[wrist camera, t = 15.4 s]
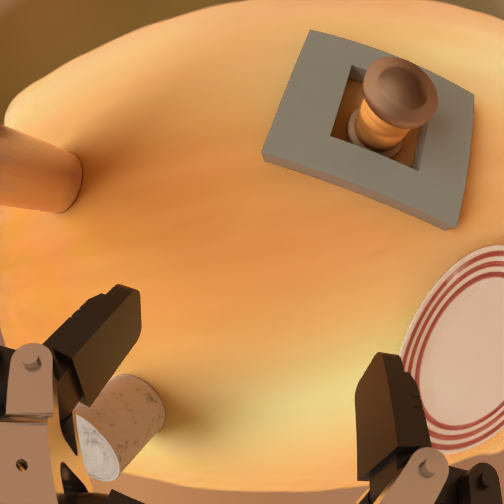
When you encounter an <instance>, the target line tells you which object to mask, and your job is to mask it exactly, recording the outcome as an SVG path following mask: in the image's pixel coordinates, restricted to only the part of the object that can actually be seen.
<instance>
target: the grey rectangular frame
mask: <svg viewBox="0 0 504 504" xmlns="http://www.w3.org/2000/svg"><path fill="white" fill-rule="evenodd" d="M384 57H396V56H394V55H391V54H388V53H386V52H383V51H380V50H378V49H375V48H372V47H369V46H366V45H363V44H360V43H357V42H354V41H351V40H347V39H344V38H341V37H337V36H334V35H330V34H326V33H322V32H318V31H314V30H310V31H309V33H308V36H307V38H306V41H305V43H304V45H303V48H302V50H301V53H300V55H299V58H298V60H297V63H296V65H295V67H294V70H293V72H292V75H291V77H290V80H289V82H288V85H287V87H286V90H285V92H284V95H283V98H282V100H281V103H280V105H279V108H278V110H277V113H276V115H275V118H274V121H273V123H272V126H271V128H270V131H269V133H268V136H267V139H266V141H265V144H264V147H263V149H262V152H261V153H262V155H263V158H264V160H265V161H266V162H270V163H273V164H276V165H279V166H282V167H286V168H289V169H292V170H295V171H298V172H301V173H304V174H307V175H310V176H312V177H315V178H318V179H321V180H324V181H327V182H330V183H332V184H335V185H338V186H340V187H343V188H346V189H348V190H351V191H354V192H356V193H359V194H362V195H364V196H367V197H369V198H372V199H374V200H377V201H379V202H382V203H384V204H386V205H389V206H391V207H394V208H396V209H398V210H401V211H403V212H405V213H408V214H410V215H412V216H415V217H417V218H419V219H421V220H423V221H426V222H428V223H430V224H432V225H434V226H436V227H439V228H441V229H443V230H449V229H455V228H457V224H458V219H459V215H460V210H461V206H462V201H463V195H464V190H465V184H466V178H467V172H468V165H469V158H470V149H471V140H472V129H473V113H474V95H473V94H472V93H470V92H468V91H467V90H465V89H463V88H461V87H459V86H458V85H456V84H454V83H452V82H450V81H448V80H446V79H444V78H442V77H441V76H439V75H437V74H434V73H432V72H430V71H428V70H426V69H424V68H422V67H420V66H418V67H419V68H420V69H422V70H423V71H424V72H425V73H426V74H427V75H428V77H429V78H430V79H431V81H432V82H433V84H434V86H435V88H436V91H437V95H438V106H437V109H436V112H435V113H434V114H433V116H432V117H431V118H430V119H429V120H428V121H427V122H426V123H425V124H424V125H422V126H420V130H419V136H418V141H417V146H416V151H415V156H414V160H413V165H412V168H410V167H408V166H406V165H404V164H401V163H399V162H397V161H394V160H392V159H390V158H387V157H385V156H382V155H380V154H378V153H375V152H373V151H370V150H367V149H365V148H362V147H360V146H357V145H354V144H352V143H349V142H346V141H343V140H340V139H338V138H335V137H332V136H331V133H332V130H333V127H334V124H335V121H336V118H337V114H338V111H339V108H340V105H341V101H342V98H343V95H344V92H345V88H346V85H347V81H348V78H350V79H353V80H356V81H359V82H362V83H363V80H364V77H365V74H366V71H367V69H368V67H369V66H370V64H371V63H373V62H374V61H375V60H377V59H380V58H384ZM397 58H399V57H397ZM416 66H417V65H416Z"/></svg>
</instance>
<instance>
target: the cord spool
mask: <svg viewBox="0 0 504 504" xmlns="http://www.w3.org/2000/svg"><path fill="white" fill-rule="evenodd" d="M362 91H363V96H364V99H363V101H362V104H361V106H360V107H358V108H357V109H356V110H355V111H354V112H353V113H352V114H351V116H350V119H349V122H348V124H347V137H348V140H349V143H352V144H354V145H357V146H360V147H362V148H365V149H367V150H370V151H373V152H375V153H378V154H380V155H382V156H385V157H387V158H390V159H391V158H392V157H394V156H395V155H396V154H397V153H398V152H399V151H400V149H401V148H402V146H403V144H404V140H405V135H406V134H407V133H408V132H409V131H410V130H411V129H415V128H418V127H420V126H422V125H424V124H425V123H426V122H427V121H428V120H429V119H430V118H431V117H432V116H433V114H434V113H435V112H436V109H437V106H438V95H437V91H436V88H435V86H434V84H433V82H432V81H431V79H430V78H429V77H428V75H427V74H426V73H425V72H424V71H423V70H422V69H420V68H419V67H418V66H416V65H415V64H413V63H411V62H409V61H407V60H404V59H401V58H397V57H384V58H380V59H377V60H375V61H374V62H373V63H371V64H370V66H369V67H368V69H367V71H366V74H365V77H364V80H363V84H362Z"/></svg>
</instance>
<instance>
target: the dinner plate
mask: <svg viewBox="0 0 504 504" xmlns="http://www.w3.org/2000/svg"><path fill="white" fill-rule="evenodd" d="M399 356H400V357H401V360H402V363H403V367H404V371H405V372H409V373H410V374H411V376H412V377H413V379H414V380H415V381H416V383H417V385H418V389H419V393H420V396H421V397H420V399H421V400H422V404H423V408H422V409H424V413H425V417H426V421H427V426H428V431H429V435H430V440H431V445H432V448H434V449H436V450H438V451H440V452H441V453H442V454H453V453H458V452H462V451H465V450H468V449H471V448H474V447H476V446H478V445H480V444H482V443H484V442H485V441H487V440H489V439H490V438H492V437H493V436H494V435H496V434H497V433H498V432H500V431H501V430H502V429H503V428H504V245H493V246H487V247H483V248H481V249H478V250H476V251H473V252H472V253H470V254H468V255H466V256H465V257H463V258H462V259H460V260H459V261H458V262H456V263H455V264H454V265H453V266H452V267H451V268H449V269H448V270H447V271H446V272H445V273H444V274H443V275H442V276H441V278H440V279H439V280H438V281H437V282H436V283H435V285H434V286H433V287H432V288H431V290H430V291H429V293H428V294H427V296H426V297H425V298H424V300H423V302H422V303H421V305H420V307H419V308H418V310H417V312H416V314H415V316H414V318H413V319H412V321H411V323H410V326H409V328H408V330H407V333H406V335H405V337H404V340H403V343H402V346H401V349H400V352H399Z"/></svg>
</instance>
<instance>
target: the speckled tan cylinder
mask: <svg viewBox="0 0 504 504" xmlns="http://www.w3.org/2000/svg"><path fill="white" fill-rule="evenodd" d="M74 409H75V413H76V422H77V429H78V436H79V442H80V448H81V454H82V459H83V462H84V465H85V468H86V470H87V472H88V475H89V476H90V477H92V478H94V479H97V480H100V481H113V480H115V479H117V478H118V476H119V475H120V473H121V472H122V471H123V470H124V469H125V467H126V466H127V465H128V464H129V463H130V462H131V461H132V460H133V459H134V457H135V456H136V455H137V454H138V453H139V452H140V451H141V449H142V448H143V447H144V446H145V445H146V444H147V443H148V441H149V440H150V439H151V438H152V437H153V436H154V435H155V433H156V432H157V431H158V430H160V429H161V427H162V426H163V424H164V421H165V409H164V405H163V403H162V401H161V399H160V397H159V396H158V394H157V393H156V392H155V390H154V389H153V388H152V387H151V386H150V385H148V384H147V383H146V382H145V381H143V380H141V379H140V378H138V377H135V376H132V375H126V374H122V375H117V376H115V377H113V378H112V379H111V380H110V381H108V382H107V384H106V385H105V387H104V388H103V390H102V391H101V392H100V394H99V395H98V397H97V398H96V400H95V401H94V403H93V404H92V405H91V407H88V406H86V405H84V404H82V403H80V402H79V403H78V404H77V405H76V407H75V408H74Z"/></svg>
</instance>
